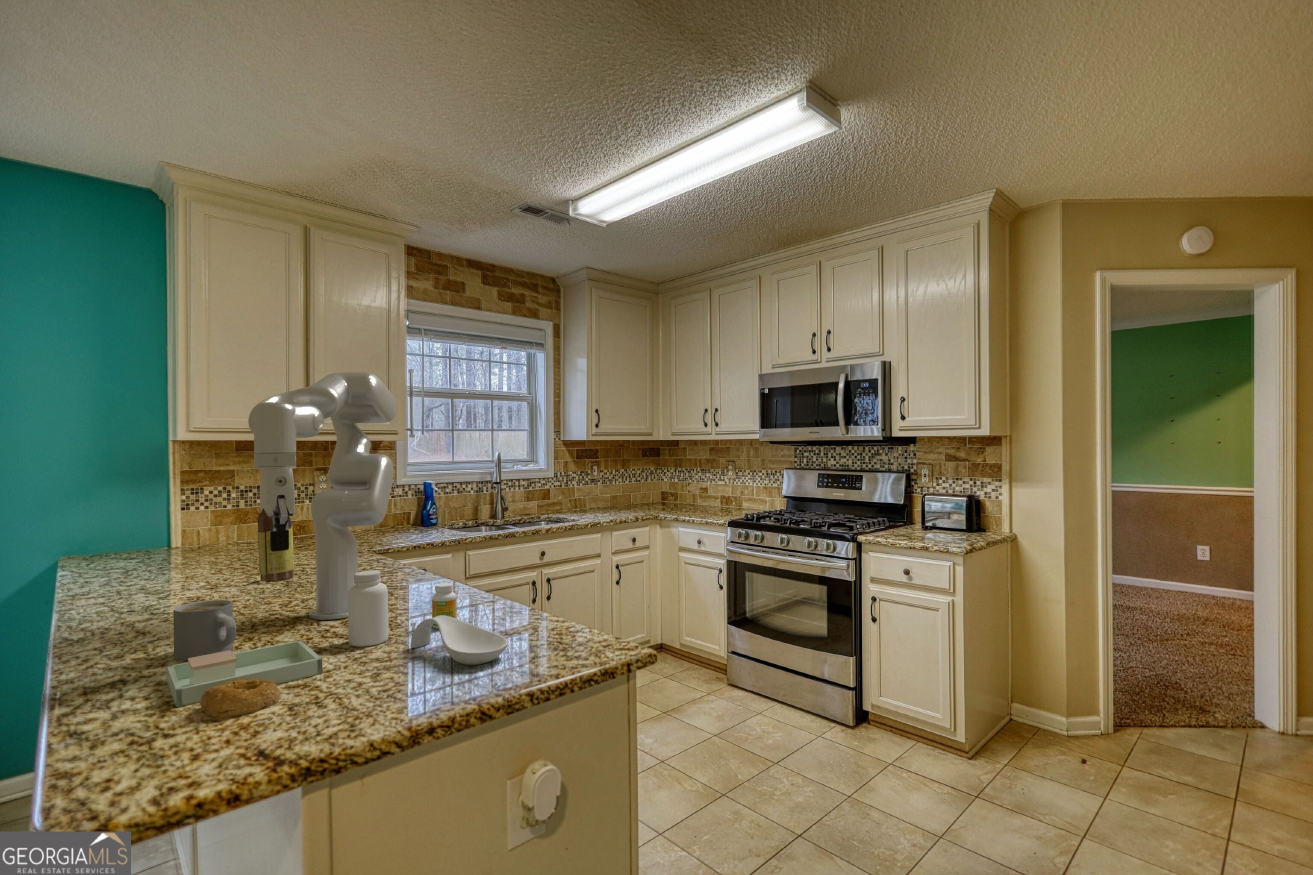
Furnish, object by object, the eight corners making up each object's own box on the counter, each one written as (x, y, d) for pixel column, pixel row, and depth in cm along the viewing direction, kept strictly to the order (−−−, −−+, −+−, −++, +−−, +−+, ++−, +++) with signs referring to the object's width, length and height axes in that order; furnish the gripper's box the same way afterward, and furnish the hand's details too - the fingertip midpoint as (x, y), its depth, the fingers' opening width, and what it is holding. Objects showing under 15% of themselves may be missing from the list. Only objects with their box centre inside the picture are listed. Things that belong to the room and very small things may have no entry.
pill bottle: (339, 645, 136) (338, 574, 136) (369, 634, 143) (368, 567, 144) (367, 649, 133) (367, 577, 133) (396, 638, 140) (396, 570, 141)
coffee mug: (164, 657, 130) (164, 608, 130) (218, 643, 138) (218, 597, 138) (196, 668, 123) (195, 616, 123) (251, 653, 131) (250, 604, 132)
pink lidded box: (230, 675, 117) (230, 649, 118) (237, 684, 113) (236, 658, 113) (187, 684, 113) (187, 658, 113) (192, 694, 108) (192, 667, 108)
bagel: (271, 716, 100) (271, 686, 101) (189, 727, 97) (189, 696, 97) (287, 694, 110) (287, 666, 110) (213, 703, 107) (213, 674, 107)
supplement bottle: (434, 630, 146) (433, 587, 146) (430, 624, 151) (430, 583, 151) (458, 627, 148) (457, 585, 149) (454, 621, 153) (453, 581, 153)
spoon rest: (520, 657, 127) (519, 621, 127) (474, 676, 117) (474, 637, 117) (440, 639, 140) (440, 606, 140) (393, 655, 130) (393, 619, 130)
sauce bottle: (301, 576, 135) (300, 482, 135) (280, 583, 129) (279, 484, 129) (272, 576, 136) (271, 482, 136) (250, 582, 129) (249, 484, 129)
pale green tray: (300, 655, 129) (300, 640, 129) (322, 675, 118) (322, 658, 118) (167, 683, 115) (166, 666, 115) (176, 709, 103) (176, 689, 103)
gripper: (306, 461, 128) (306, 551, 128) (286, 461, 141) (287, 542, 141) (262, 462, 124) (263, 555, 123) (246, 462, 136) (247, 546, 136)
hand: (276, 547), depth 132 cm, fingers closed on sauce bottle, 6 cm apart
